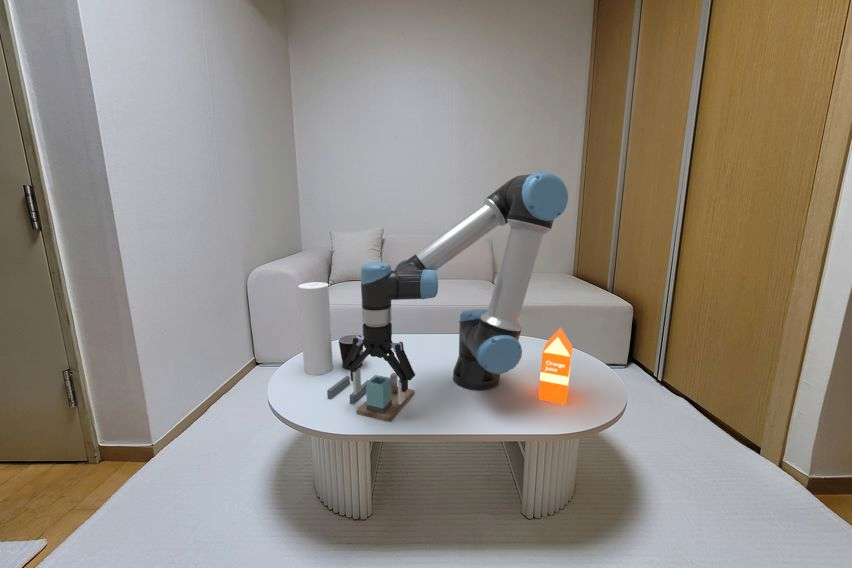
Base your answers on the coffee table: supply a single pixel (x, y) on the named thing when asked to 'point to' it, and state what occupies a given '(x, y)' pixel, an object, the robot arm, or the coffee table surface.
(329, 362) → the cylinder container
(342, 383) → the feeder rails
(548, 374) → the orange juice
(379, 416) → the pin board
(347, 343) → the coffee mug
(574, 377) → the coffee table surface
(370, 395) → the sleeve
